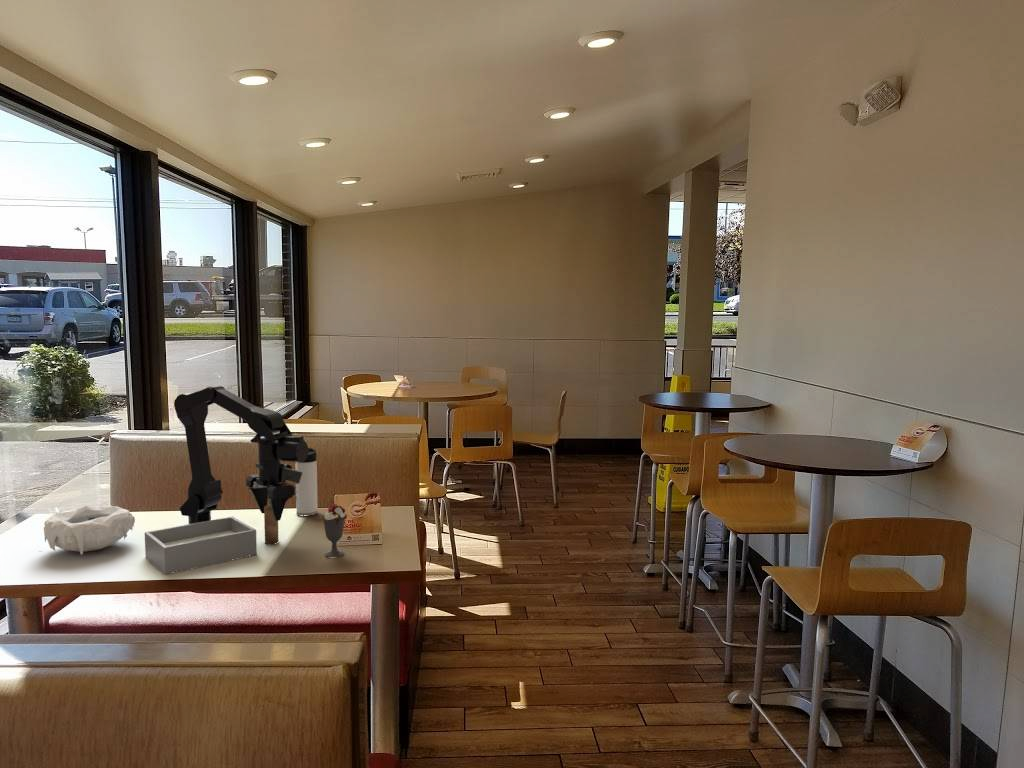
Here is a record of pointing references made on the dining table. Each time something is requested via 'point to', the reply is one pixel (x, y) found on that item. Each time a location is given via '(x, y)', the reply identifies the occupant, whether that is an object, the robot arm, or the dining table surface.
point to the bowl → (88, 528)
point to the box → (199, 544)
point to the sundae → (334, 527)
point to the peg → (270, 526)
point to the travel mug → (307, 485)
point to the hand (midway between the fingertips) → (270, 516)
